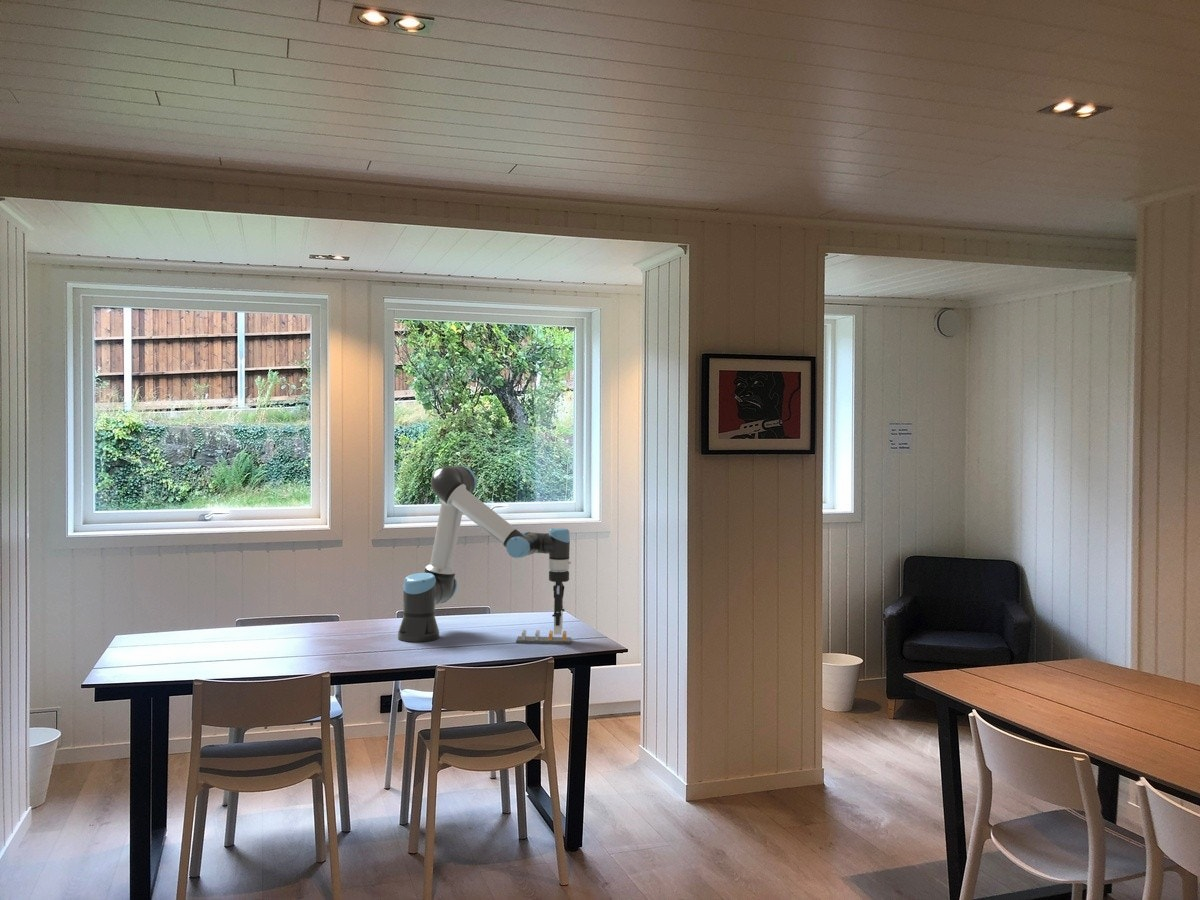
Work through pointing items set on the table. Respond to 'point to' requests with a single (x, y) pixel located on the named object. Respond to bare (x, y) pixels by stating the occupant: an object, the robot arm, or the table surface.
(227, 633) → the table surface
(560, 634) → the panel
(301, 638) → the table surface
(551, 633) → the rack
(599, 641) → the table surface
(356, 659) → the table surface
